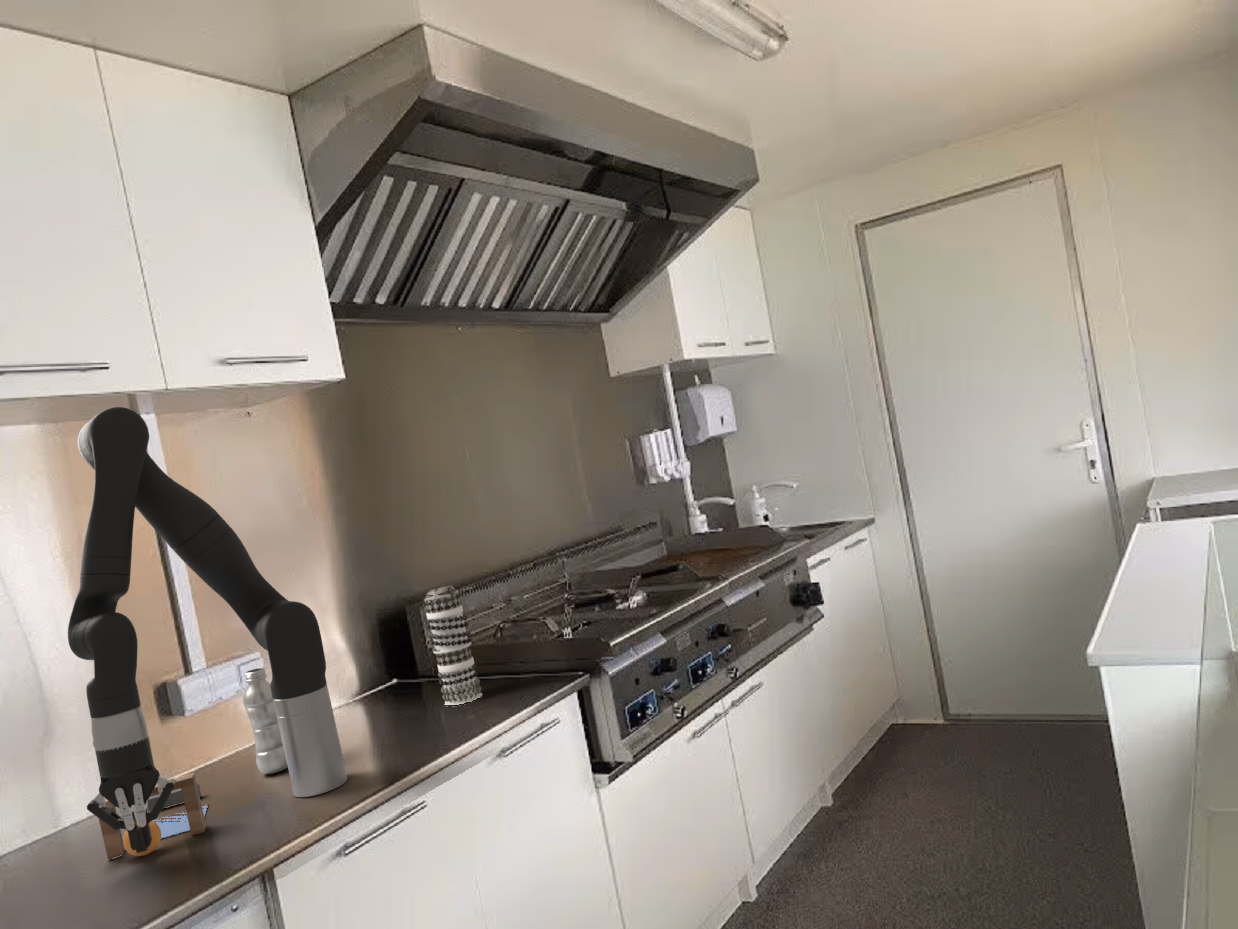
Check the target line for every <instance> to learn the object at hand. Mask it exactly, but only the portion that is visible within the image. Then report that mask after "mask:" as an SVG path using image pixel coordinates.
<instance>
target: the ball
mask: <svg viewBox="0 0 1238 929" xmlns="http://www.w3.org/2000/svg"><path fill="white" fill-rule="evenodd" d="M137 825H138V822H137ZM149 826H150V831H151V837H152V842H151V845H150V846H149V848H148V850H147V851H143V852H140V853H137V852H136V850H132V848H131V846H130V840H129V835H128V831H127V830H126V829H125V831H124V833H123V836H122V839H123V845H124V848H125V849H126V850H125V851H126V852H127V853H128V854H130V855H132V856H135V857H143V856H148V855H149V854H151V853H152V852H154V851H155V850H156V849H158V846H159V844H160V843H161V840H162V839H161V830H160V827H159V826H158V824H157V823H155V822H154V821H151V822H150V823H149Z"/></svg>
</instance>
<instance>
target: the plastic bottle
mask: <svg viewBox="0 0 1238 929" xmlns="http://www.w3.org/2000/svg"><path fill="white" fill-rule="evenodd" d="M244 675H245V683H248V684H247V688H246V690H244V693H243V694H244V695H243V697H242V699H243V700H242V702H243V703H242V704H243V706H244V709H245V712H246V714H247V716H248V720H249V723H250V726H251V728H252V733H253V739H254V746H255V759H256V760H255V762H256V766H257V767H258V768H257V769H258V771H260V772H261V774H263V775H270V774H278V773H280V772H283V771H284V770H286V769H288V765H287V761H286V756H285V752H284V747H283V743H282V738H281V733H280V729H279V724H278V720H277V715H276V711H275V707H274V702H273V698H272V693H271V688H270V683H271V682H269V681H268V680H267V679H266V678H267V677H268V675H267V674H266V670H265V667H257V668H253V669H250V670H248V671H247V670H246V671H245V672H244Z"/></svg>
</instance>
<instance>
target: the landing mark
mask: <svg viewBox="0 0 1238 929" xmlns="http://www.w3.org/2000/svg"><path fill="white" fill-rule="evenodd" d="M204 805H205V806H203V805H202V808H204V809H203V814H204V818H206V815H207V812H208V809H206V808H209V806H206V805H207V804H204ZM206 811H207V812H206ZM182 812H183V811H182ZM178 813H179V812H175V814H178ZM179 814H187V813H184V812H183V813H179ZM205 814H206V815H205ZM166 816H167V817H166ZM166 816H162V817H161V818H176V819H172V820H171V819H166V820H165V819H164V820H162V821H167V822H163V823H161V822H156V823H157V824H158V826H159V827H160V830H161V838H165V839H168V838H170V836H172V835H175V836H178V835H181V834H180V833H182V834H184V833H183V832H185V833H188V832H191V831H190V827H189V822H188V818H187V815H186V816H185V815H184V816H182V815H181V816H172V817H171V816H170V817H168V816H169V815H166ZM178 818H181V819H179V820H178ZM156 819H157V820H155V821H161V819H160V820H158V819H159V818H156ZM153 821H154V820H153ZM168 821H174V822H168ZM175 821H180V822H175ZM185 821H186V822H185ZM167 837H168V838H167ZM172 837H173V836H172Z"/></svg>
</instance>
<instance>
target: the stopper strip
mask: <svg viewBox="0 0 1238 929" xmlns="http://www.w3.org/2000/svg"><path fill="white" fill-rule="evenodd" d="M199 783H200V782H197V787H198V791H199V796H200V797H201V798H202V792H201V787H200V784H199ZM160 795H161V794H158V795H155V796H151V797H149V799H148V800H147V802H148V812H149V811H151V810H153V808H154V806H155V804H156V802H157V800H158V799H159V797H160ZM182 802H184V800H183V795H182V791H181V788H180V789H176V790H173V791H171V793H170V795H169V797H168V799H167V801H166V802H165V804H164V806H163V808H165V807H168V806H171V805H174V804H179V803H182Z"/></svg>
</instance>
